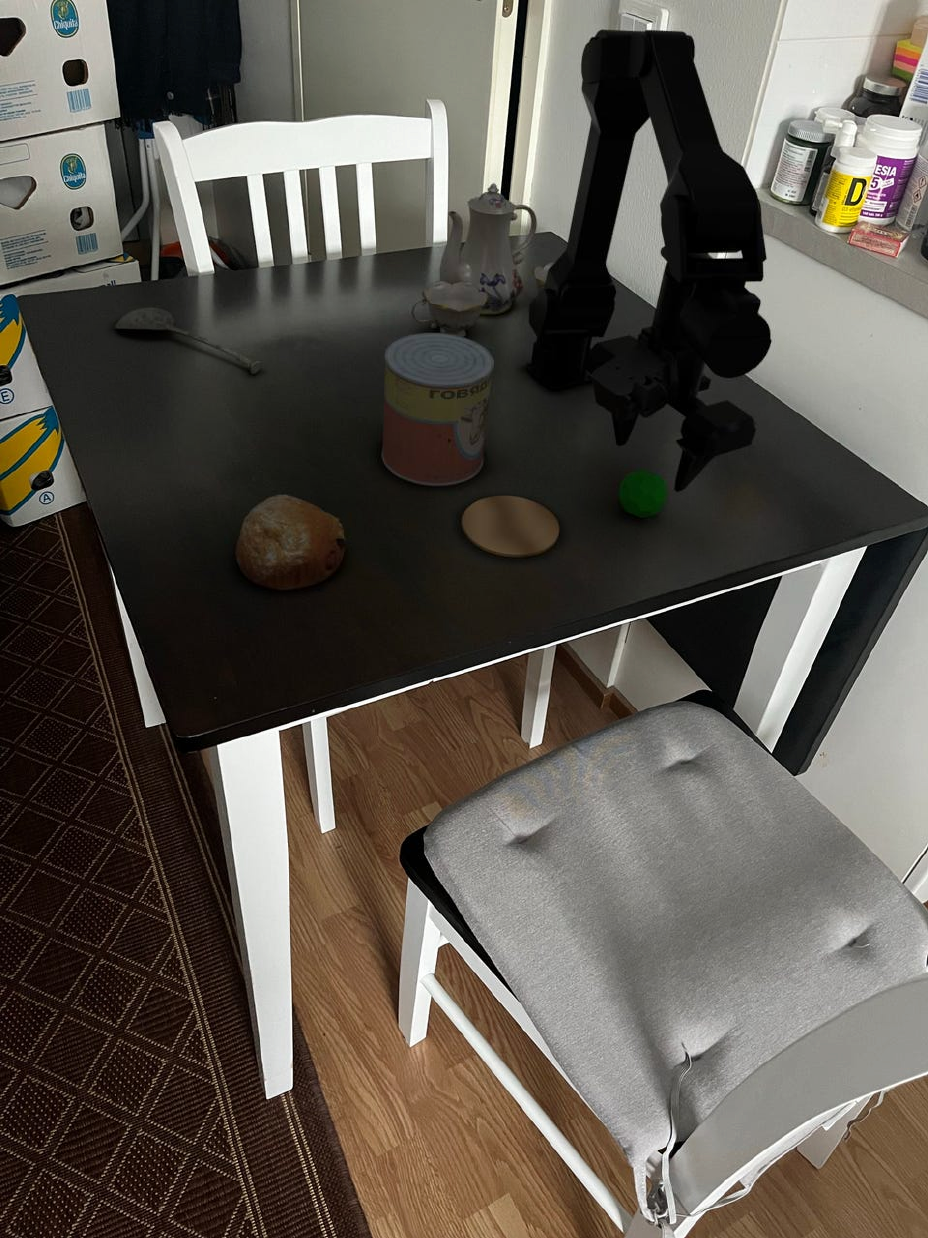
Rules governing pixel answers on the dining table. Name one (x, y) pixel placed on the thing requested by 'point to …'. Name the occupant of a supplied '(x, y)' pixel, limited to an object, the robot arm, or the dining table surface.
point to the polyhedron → (642, 493)
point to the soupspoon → (173, 330)
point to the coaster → (510, 526)
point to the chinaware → (479, 266)
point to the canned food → (435, 408)
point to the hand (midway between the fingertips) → (649, 466)
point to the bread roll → (289, 544)
